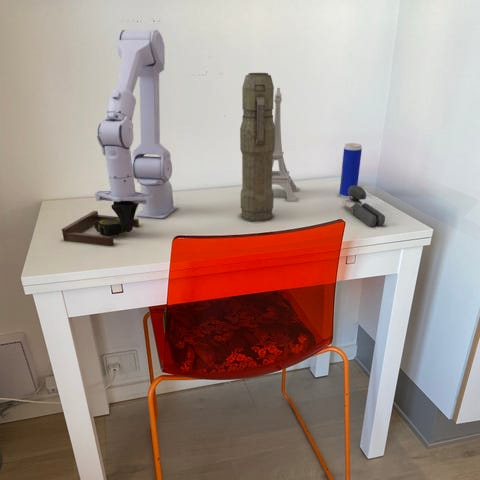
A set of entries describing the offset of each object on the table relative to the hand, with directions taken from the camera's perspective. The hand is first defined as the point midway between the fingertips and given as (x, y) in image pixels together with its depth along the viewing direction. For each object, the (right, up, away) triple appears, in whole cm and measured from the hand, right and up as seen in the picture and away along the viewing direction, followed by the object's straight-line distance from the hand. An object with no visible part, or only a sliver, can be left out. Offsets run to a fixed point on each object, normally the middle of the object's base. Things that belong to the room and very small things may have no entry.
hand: (128, 230), depth 117 cm
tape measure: (-5, -1, +2) cm, 6 cm away
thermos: (+32, +6, +12) cm, 35 cm away
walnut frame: (-7, 0, +2) cm, 7 cm away
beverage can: (+61, +16, +28) cm, 69 cm away
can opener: (+61, +6, +12) cm, 63 cm away
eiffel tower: (+39, +17, +30) cm, 52 cm away
